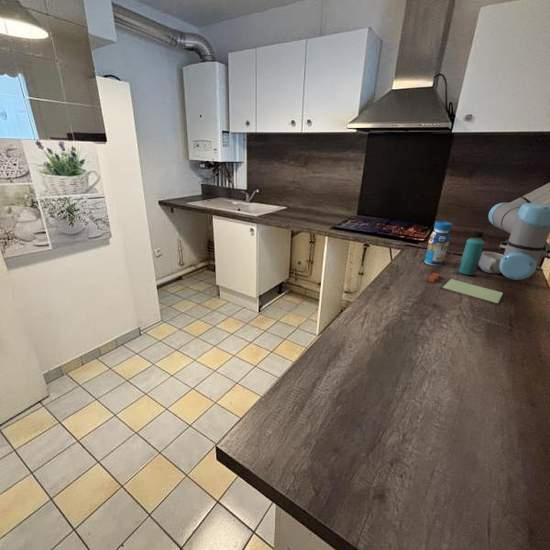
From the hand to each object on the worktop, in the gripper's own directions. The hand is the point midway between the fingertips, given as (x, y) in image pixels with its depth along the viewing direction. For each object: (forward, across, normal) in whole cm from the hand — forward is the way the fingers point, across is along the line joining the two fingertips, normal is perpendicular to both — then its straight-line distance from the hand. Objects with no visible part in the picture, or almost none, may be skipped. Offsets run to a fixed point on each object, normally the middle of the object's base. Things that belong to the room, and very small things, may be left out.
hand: (529, 240), depth 102 cm
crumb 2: (-5, -25, -22) cm, 33 cm away
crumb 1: (-9, -24, -20) cm, 33 cm away
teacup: (+24, -10, -22) cm, 34 cm away
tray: (-7, -11, -22) cm, 25 cm away
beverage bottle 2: (+11, -17, -22) cm, 30 cm away
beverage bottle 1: (+17, -32, -22) cm, 42 cm away
